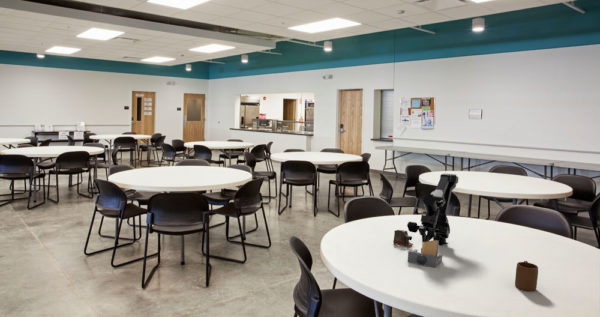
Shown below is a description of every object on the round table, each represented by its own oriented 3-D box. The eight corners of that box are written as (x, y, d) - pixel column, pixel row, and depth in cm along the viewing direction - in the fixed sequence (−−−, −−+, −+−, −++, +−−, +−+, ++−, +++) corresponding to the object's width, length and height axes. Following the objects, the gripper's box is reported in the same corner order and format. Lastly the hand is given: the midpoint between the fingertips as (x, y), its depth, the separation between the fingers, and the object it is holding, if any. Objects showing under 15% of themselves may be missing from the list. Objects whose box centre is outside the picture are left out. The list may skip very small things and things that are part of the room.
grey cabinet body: (414, 255, 196) (415, 245, 196) (441, 260, 190) (442, 250, 189) (406, 262, 186) (407, 251, 186) (435, 268, 180) (436, 257, 179)
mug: (513, 278, 171) (515, 257, 170) (533, 282, 168) (536, 260, 167) (515, 289, 160) (517, 266, 159) (537, 293, 157) (539, 270, 156)
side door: (419, 261, 188) (421, 241, 187) (434, 258, 192) (436, 239, 191) (422, 262, 186) (424, 242, 185) (437, 259, 190) (439, 240, 189)
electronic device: (408, 248, 207) (409, 233, 206) (392, 243, 214) (393, 229, 213) (413, 246, 210) (414, 232, 209) (397, 242, 217) (398, 228, 216)
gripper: (409, 205, 198) (400, 232, 190) (449, 211, 188) (441, 240, 180) (413, 217, 206) (405, 244, 198) (451, 223, 196) (444, 252, 188)
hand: (423, 245), depth 191 cm, fingers closed
